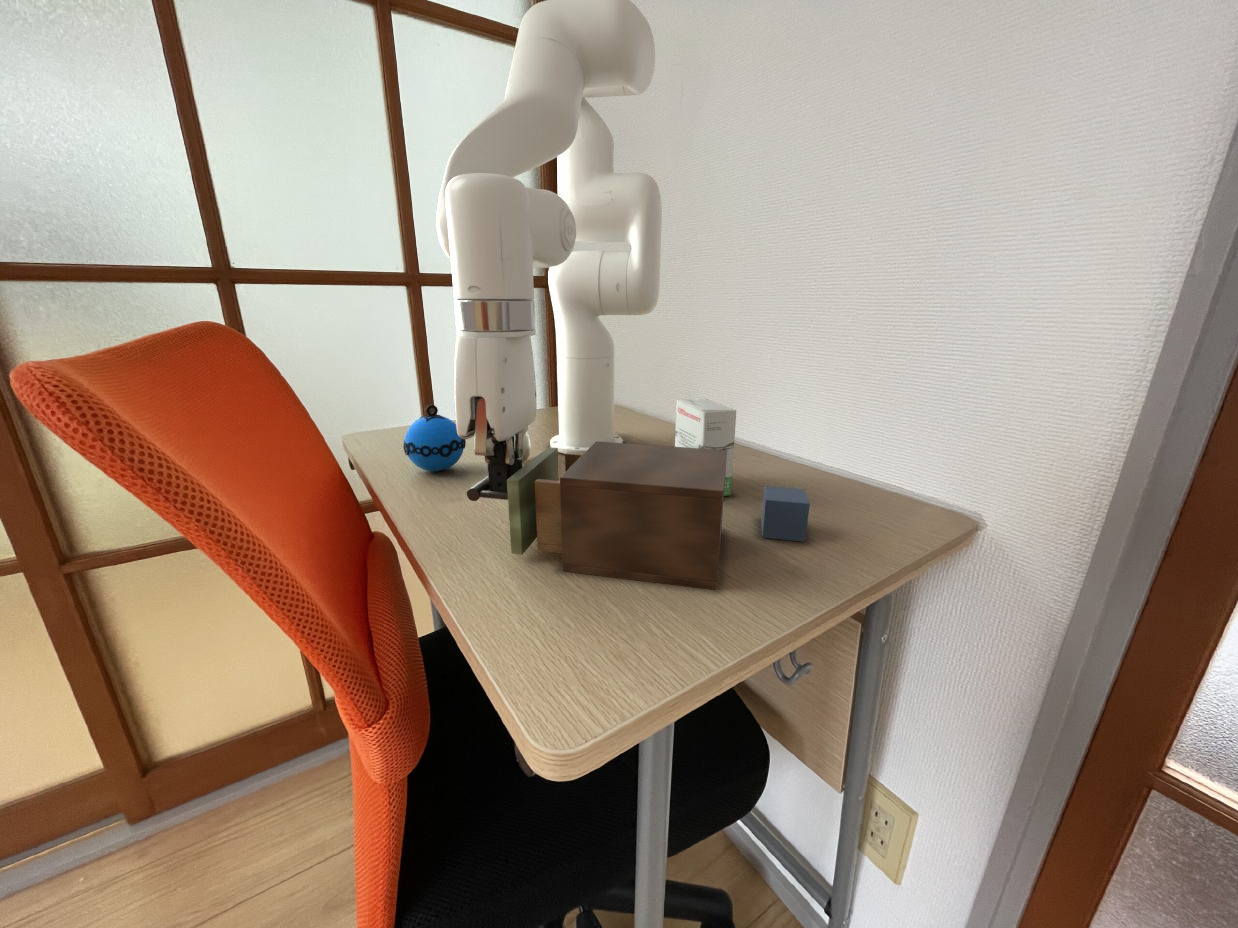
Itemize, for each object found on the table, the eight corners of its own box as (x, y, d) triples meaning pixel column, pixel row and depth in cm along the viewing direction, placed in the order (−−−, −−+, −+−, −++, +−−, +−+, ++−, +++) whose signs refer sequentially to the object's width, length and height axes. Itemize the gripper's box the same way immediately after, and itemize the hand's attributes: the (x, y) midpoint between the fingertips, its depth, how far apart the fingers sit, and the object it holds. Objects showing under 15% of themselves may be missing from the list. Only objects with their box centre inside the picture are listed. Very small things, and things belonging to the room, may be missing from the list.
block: (761, 521, 62) (764, 485, 61) (801, 525, 61) (805, 488, 60) (762, 537, 58) (766, 499, 57) (805, 542, 57) (810, 503, 56)
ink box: (732, 496, 70) (739, 408, 66) (699, 500, 68) (704, 411, 64) (702, 476, 77) (707, 396, 74) (671, 479, 76) (674, 398, 72)
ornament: (418, 484, 73) (410, 413, 70) (399, 468, 80) (391, 403, 77) (477, 472, 78) (471, 406, 75) (454, 458, 85) (448, 397, 82)
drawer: (458, 547, 53) (451, 474, 51) (505, 505, 64) (501, 443, 61) (645, 569, 49) (647, 491, 47) (662, 520, 60) (665, 455, 57)
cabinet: (562, 571, 51) (559, 477, 48) (596, 519, 62) (595, 441, 59) (715, 590, 48) (723, 490, 45) (721, 531, 59) (727, 450, 56)
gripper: (493, 316, 59) (503, 471, 64) (417, 323, 45) (438, 520, 51) (557, 317, 57) (562, 476, 63) (499, 324, 43) (511, 528, 49)
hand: (507, 495), depth 57 cm, fingers closed
